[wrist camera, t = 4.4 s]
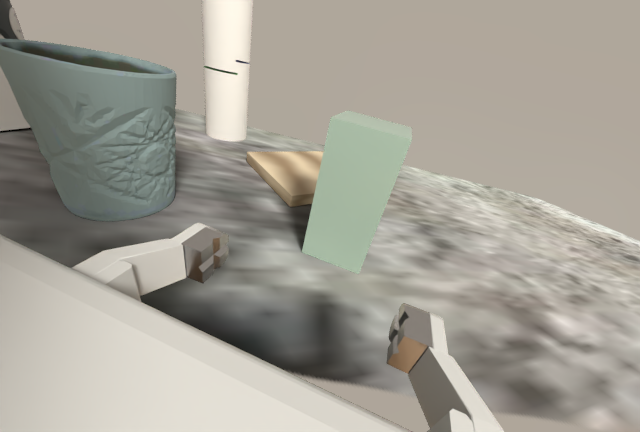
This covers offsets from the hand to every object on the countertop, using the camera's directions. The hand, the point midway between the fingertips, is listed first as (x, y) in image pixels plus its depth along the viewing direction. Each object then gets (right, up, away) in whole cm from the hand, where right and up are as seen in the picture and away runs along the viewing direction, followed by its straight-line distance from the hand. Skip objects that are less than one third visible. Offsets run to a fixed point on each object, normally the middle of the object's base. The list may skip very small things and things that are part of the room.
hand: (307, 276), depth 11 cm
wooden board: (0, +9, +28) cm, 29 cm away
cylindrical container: (-17, +18, +36) cm, 44 cm away
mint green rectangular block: (+2, 0, +14) cm, 14 cm away
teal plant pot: (-18, +4, +14) cm, 23 cm away
